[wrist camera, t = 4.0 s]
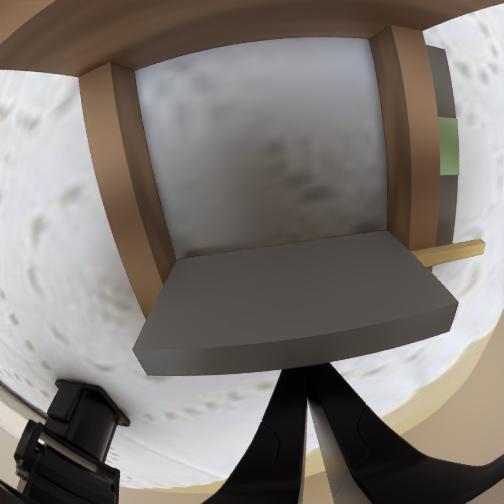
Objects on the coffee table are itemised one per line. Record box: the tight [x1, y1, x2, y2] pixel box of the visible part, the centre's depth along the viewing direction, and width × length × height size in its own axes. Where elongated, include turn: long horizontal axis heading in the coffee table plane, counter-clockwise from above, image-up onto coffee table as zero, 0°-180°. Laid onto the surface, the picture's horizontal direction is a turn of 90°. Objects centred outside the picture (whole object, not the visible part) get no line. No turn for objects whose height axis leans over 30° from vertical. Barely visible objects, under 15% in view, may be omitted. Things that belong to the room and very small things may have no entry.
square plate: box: [0, 385, 46, 444], centre depth 26 cm, size 27×27×4 cm
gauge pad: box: [132, 230, 485, 376], centre depth 10 cm, size 1×15×6 cm, turn 99°
